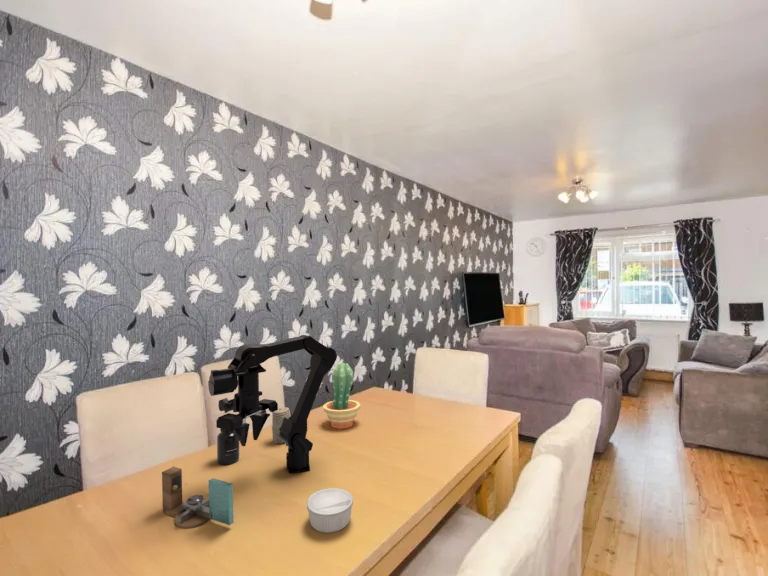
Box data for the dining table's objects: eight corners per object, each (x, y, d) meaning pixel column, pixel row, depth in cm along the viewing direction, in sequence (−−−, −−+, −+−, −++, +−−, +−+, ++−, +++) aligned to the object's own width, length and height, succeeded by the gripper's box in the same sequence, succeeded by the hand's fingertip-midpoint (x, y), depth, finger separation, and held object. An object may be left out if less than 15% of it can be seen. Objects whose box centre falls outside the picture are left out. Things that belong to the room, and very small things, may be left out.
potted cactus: (368, 422, 160) (367, 362, 160) (345, 434, 147) (344, 369, 147) (339, 415, 168) (338, 358, 168) (315, 427, 155) (314, 365, 155)
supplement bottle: (231, 466, 122) (231, 428, 122) (212, 464, 124) (212, 427, 124) (243, 456, 129) (243, 421, 129) (225, 455, 130) (224, 420, 130)
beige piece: (268, 444, 139) (267, 411, 138) (279, 436, 146) (278, 405, 146) (284, 446, 137) (283, 412, 137) (294, 437, 144) (293, 406, 144)
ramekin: (333, 542, 86) (333, 519, 86) (296, 526, 92) (296, 504, 91) (362, 516, 95) (362, 495, 95) (327, 503, 101) (327, 483, 101)
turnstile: (198, 498, 102) (197, 463, 102) (245, 513, 95) (244, 476, 95) (166, 517, 94) (166, 479, 93) (216, 535, 87) (215, 494, 87)
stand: (183, 498, 104) (183, 461, 104) (223, 511, 98) (222, 472, 98) (151, 517, 96) (150, 477, 96) (192, 532, 90) (191, 489, 90)
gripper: (250, 379, 123) (251, 427, 123) (201, 394, 106) (202, 451, 106) (278, 382, 118) (279, 432, 118) (231, 399, 101) (232, 458, 101)
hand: (249, 442), depth 111 cm, fingers open, 4 cm apart
